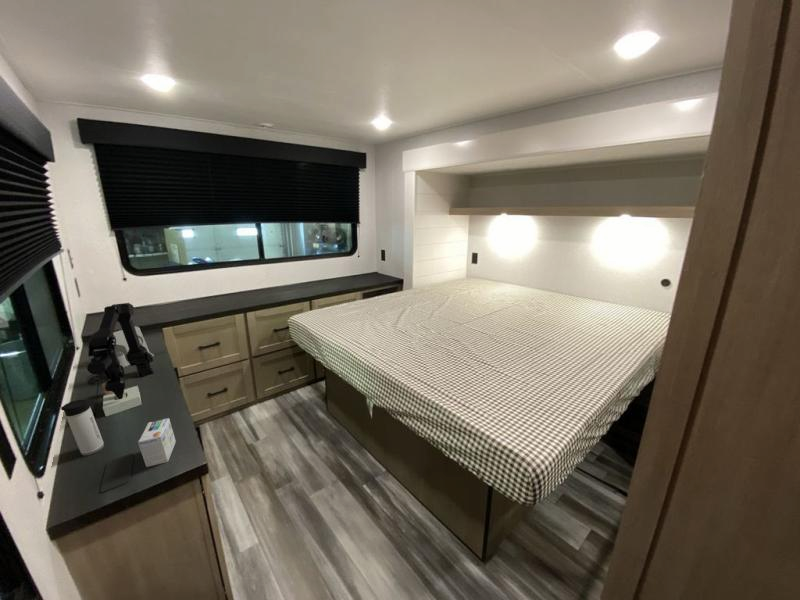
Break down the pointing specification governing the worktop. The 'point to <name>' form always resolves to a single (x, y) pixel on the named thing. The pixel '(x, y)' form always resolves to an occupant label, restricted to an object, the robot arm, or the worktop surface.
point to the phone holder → (122, 342)
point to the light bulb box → (157, 442)
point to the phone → (117, 473)
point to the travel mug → (83, 426)
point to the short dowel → (105, 390)
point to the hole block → (121, 401)
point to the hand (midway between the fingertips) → (120, 394)
